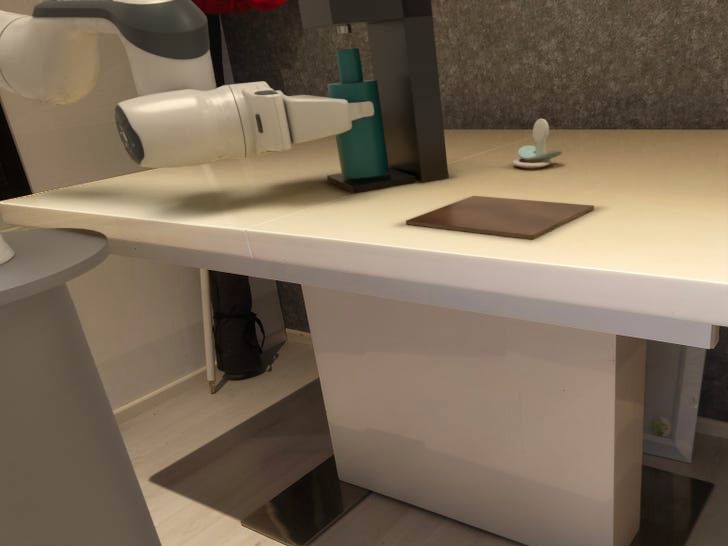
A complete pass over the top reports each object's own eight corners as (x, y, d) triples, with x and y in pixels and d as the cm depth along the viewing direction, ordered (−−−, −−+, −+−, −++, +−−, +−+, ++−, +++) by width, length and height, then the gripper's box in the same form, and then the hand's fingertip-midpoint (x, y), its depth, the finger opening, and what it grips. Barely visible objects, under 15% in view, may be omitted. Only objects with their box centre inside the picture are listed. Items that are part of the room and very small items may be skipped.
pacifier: (533, 173, 93) (568, 164, 95) (530, 125, 90) (566, 117, 92) (504, 167, 98) (537, 159, 101) (500, 122, 96) (534, 115, 98)
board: (532, 239, 63) (532, 235, 63) (406, 224, 72) (405, 220, 72) (594, 209, 71) (594, 205, 71) (473, 199, 80) (473, 195, 80)
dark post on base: (355, 194, 88) (319, -35, 77) (326, 180, 100) (290, -21, 89) (448, 177, 94) (427, -39, 82) (410, 165, 105) (386, -26, 94)
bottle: (365, 179, 91) (346, 49, 84) (332, 177, 95) (311, 52, 88) (398, 170, 96) (383, 46, 89) (366, 168, 99) (348, 49, 92)
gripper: (249, 138, 96) (343, 125, 101) (282, 152, 79) (391, 136, 85) (239, 90, 93) (335, 80, 99) (270, 95, 77) (384, 82, 82)
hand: (362, 106), depth 92 cm, fingers closed on bottle, 6 cm apart
